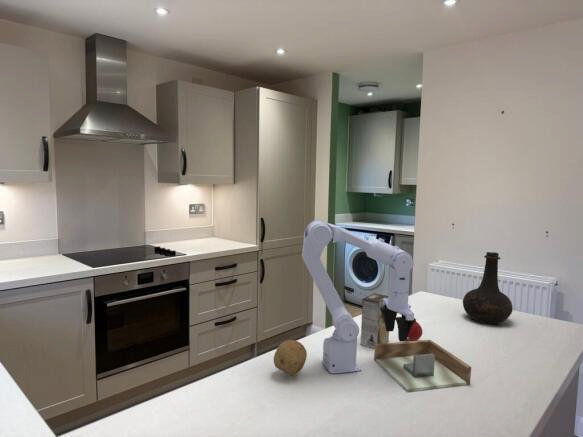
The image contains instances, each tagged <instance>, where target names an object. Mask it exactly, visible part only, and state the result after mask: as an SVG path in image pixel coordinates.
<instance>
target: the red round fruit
mask: <svg viewBox="0 0 583 437" xmlns="http://www.w3.org/2000/svg"><path fill="white" fill-rule="evenodd" d="M422 335H423V328H422V327H421V324H420V323H419V322H418V321H416V322H415V323H414V325H413V326H412V328H411V330H410V332H409V335H408V338H407V339H408V340H409V341H419V339H421V337H422Z"/></svg>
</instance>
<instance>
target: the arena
mask: <svg viewBox="0 0 583 437" xmlns="http://www.w3.org/2000/svg"><path fill="white" fill-rule="evenodd" d="M432 353H433V354H434V355H435V364H434V376H428V377H419V378H414V377H413V376H412V375H411V374H410V373H408V372H407V371H406V370H405V369H404V368H403V366H404V364H410V363H413V357H414V355H422V354H432ZM373 361H375V362H376V363H377V364H378V365H379V366H380V367H381V368H382V369H383V370H384V371H385V372H386V373H387V374H388V375H389V376H390V377H391V378H392V379H393V380H394V381H395V382H397V383H398V385H399V386H401V388H402V389H404V390H405V391H406V392H407V393H412V392H420V391H427V390H436V389H444V388H452V387H454V388H455V387H461V386H469V385H471V375H472V366H470V365H469V364H467V363H466V362H464V360H461V359H460V358H458V356H455V355H454V354H453V353H451V352H449V351H448V350H446V349H445V348H443V347H442V346H440V345H439V344H437V343H436V342H434V341H433V340H431V339H423V340H422V339H421V340H416V341H411V340H409V341H408V340H407V341H402V342H400V341H398V342H387V343H384V344H375V349H374V360H373Z"/></svg>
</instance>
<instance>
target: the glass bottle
mask: <svg viewBox="0 0 583 437" xmlns="http://www.w3.org/2000/svg"><path fill="white" fill-rule="evenodd" d="M499 254H500V253H498V252H494V251H493V252H490V251H486V254H485V255H484V256H483V257H484V259H485V264H484V269H483V275H482V279H481V282H480V284H479V286H478V287H477V288H473V289H472V290H469V291H468V292H466V293H465V295H464V297H463V300H462V306H463V309H464V311H465V313H466V314H467V315H468V316H469V317H470V318H471V319H473V320H475V321H477V322H480V323H484V324H488V325H497V324H500V323H503V322H504V321H506V320H508V318H509V317H510V316H511V315H512V313H513V303H512V301H511V299H510V297H508V296H507V295H506V294H505V293H503V292H502V291H501V290H500V288H499V287H500V286H499V281H498V279H499V274H498V273H499V272H498V270H499V269H498V268H499V260H501V259H502V258H501V257H500V256H499Z"/></svg>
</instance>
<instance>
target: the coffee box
mask: <svg viewBox="0 0 583 437" xmlns="http://www.w3.org/2000/svg"><path fill="white" fill-rule="evenodd" d="M384 298H388V295H386V294H381V293H380V294H379V293H374V292H373V293H372V294H369V295H368V296H366V297H363V298H361V299H362V301H361V303H362V304H361V324H360V325H361V327H360V345H361V346H363V345H364V347H368V348H370V347H371V349H374V350H375V344H384V343H389V340H390V337H389V336H390V331H389V332H387V331H386V327H385V322H384V318H383V315H382V312H381V310H380V307H384V306H385V305H383V299H384Z"/></svg>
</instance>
